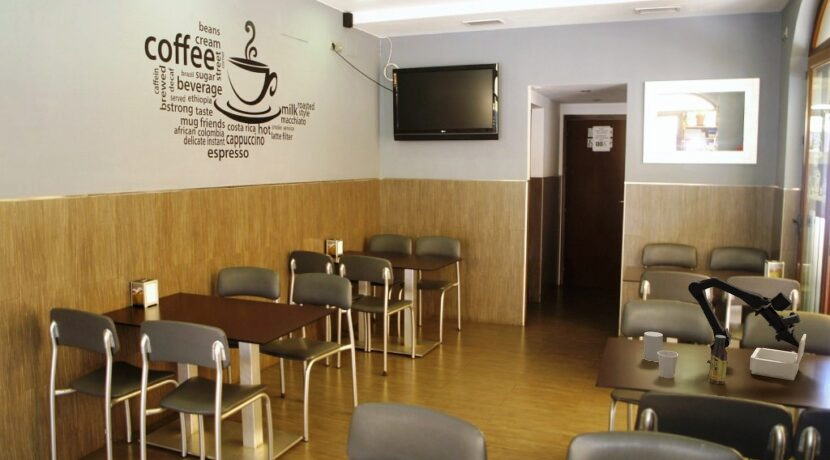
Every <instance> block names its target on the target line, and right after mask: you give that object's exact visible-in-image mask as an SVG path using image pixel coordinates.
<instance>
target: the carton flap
mask: <svg viewBox="0 0 830 460" xmlns="http://www.w3.org/2000/svg"><path fill="white" fill-rule="evenodd" d="M806 338H807V334H806V333H803V335H802V337H801V339H800V341H799V348H798V349H797V354H798V355H797V361H796V363H797V364H799V365H800V362H801V360H802V358H803V355H804V351H805V345H806V340H807V339H806Z"/></svg>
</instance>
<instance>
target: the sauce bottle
mask: <svg viewBox="0 0 830 460" xmlns="http://www.w3.org/2000/svg"><path fill="white" fill-rule="evenodd" d="M714 341H715V346H714V349H713V351H712V353H711V352H710V359H709V360H710V362H709V375H708V377H709V382H710V383H712V384H714V385H724V384H725V383H726V378H727V377H726V376H727V367H728V366H727V364H728V363H727V362H728V351H727V349H726V348H725V341H726V337H725V336H722V335H716V336H715V339H714Z"/></svg>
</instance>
